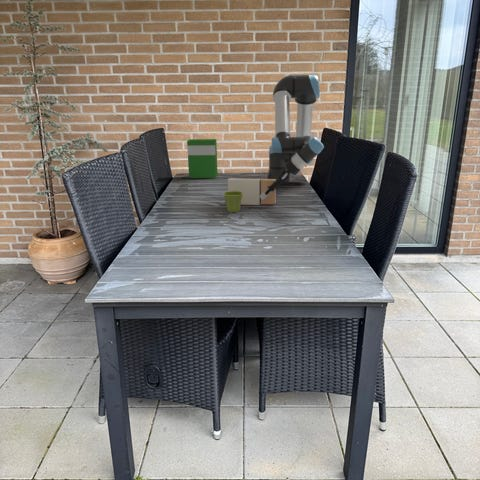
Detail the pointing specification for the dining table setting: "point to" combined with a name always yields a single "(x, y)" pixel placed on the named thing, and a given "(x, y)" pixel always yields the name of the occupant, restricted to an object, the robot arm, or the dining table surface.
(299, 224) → the dining table surface
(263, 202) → the tan rectangular block
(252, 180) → the block
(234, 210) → the plant pot
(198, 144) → the hardback book
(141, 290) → the dining table surface
